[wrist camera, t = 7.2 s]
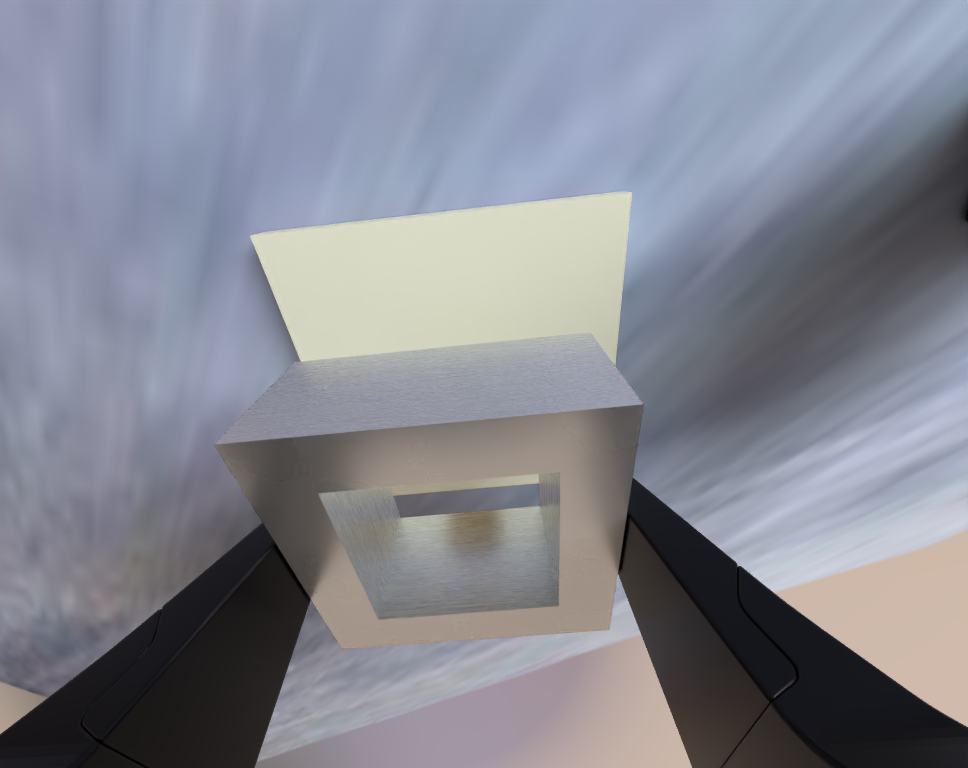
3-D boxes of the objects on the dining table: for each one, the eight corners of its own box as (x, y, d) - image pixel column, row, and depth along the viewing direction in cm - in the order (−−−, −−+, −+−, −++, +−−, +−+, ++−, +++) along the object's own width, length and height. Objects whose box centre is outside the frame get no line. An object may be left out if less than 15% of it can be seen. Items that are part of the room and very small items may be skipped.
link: (590, 332, 8) (643, 404, 6) (580, 529, 12) (609, 629, 9) (294, 362, 8) (213, 444, 6) (371, 547, 12) (342, 649, 9)
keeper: (620, 191, 12) (705, 200, 7) (597, 462, 18) (637, 554, 13) (266, 231, 12) (149, 262, 8) (362, 483, 18) (326, 579, 14)
